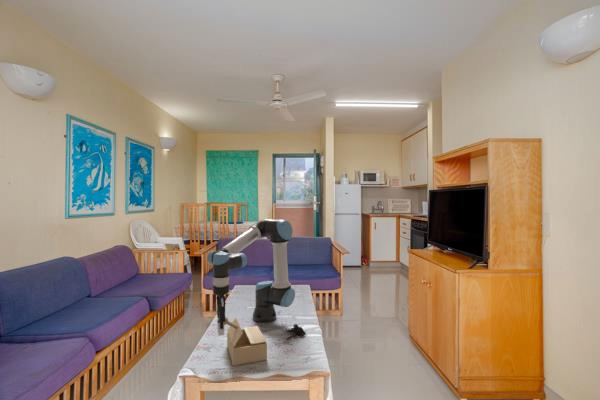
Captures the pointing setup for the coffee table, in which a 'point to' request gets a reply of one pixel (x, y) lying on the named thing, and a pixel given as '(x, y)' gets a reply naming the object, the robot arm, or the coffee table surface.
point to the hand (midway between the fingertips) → (220, 333)
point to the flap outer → (233, 331)
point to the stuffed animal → (296, 332)
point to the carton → (248, 347)
